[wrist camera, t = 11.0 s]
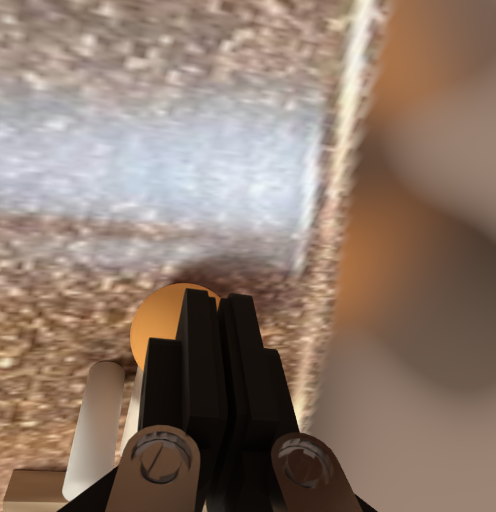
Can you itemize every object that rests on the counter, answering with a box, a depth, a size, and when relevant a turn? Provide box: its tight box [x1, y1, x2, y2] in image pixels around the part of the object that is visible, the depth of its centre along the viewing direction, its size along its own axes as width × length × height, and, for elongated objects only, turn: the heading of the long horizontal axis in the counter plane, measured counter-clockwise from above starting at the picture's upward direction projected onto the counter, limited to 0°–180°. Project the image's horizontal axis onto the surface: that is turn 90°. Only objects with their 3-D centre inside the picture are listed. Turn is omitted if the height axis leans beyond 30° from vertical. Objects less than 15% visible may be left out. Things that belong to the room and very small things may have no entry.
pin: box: [62, 361, 125, 501], centre depth 29 cm, size 2×2×8 cm
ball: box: [130, 283, 221, 371], centre depth 27 cm, size 6×6×6 cm
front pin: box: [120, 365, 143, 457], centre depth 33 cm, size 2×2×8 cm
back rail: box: [3, 470, 207, 512], centre depth 37 cm, size 2×18×2 cm, turn 77°
